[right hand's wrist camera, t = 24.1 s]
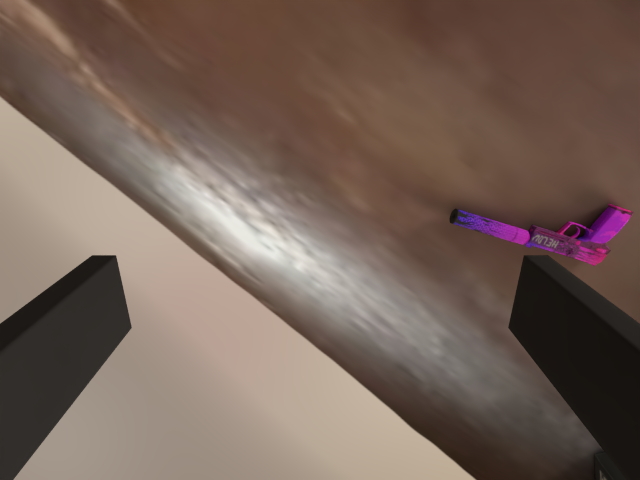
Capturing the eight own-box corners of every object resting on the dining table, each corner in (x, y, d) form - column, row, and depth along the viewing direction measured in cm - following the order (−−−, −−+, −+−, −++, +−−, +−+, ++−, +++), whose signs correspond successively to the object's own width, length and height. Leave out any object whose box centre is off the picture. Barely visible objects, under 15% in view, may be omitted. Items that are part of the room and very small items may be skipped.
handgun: (626, 208, 47) (639, 213, 45) (594, 263, 50) (604, 270, 48) (472, 162, 45) (478, 165, 43) (446, 222, 48) (452, 227, 46)
